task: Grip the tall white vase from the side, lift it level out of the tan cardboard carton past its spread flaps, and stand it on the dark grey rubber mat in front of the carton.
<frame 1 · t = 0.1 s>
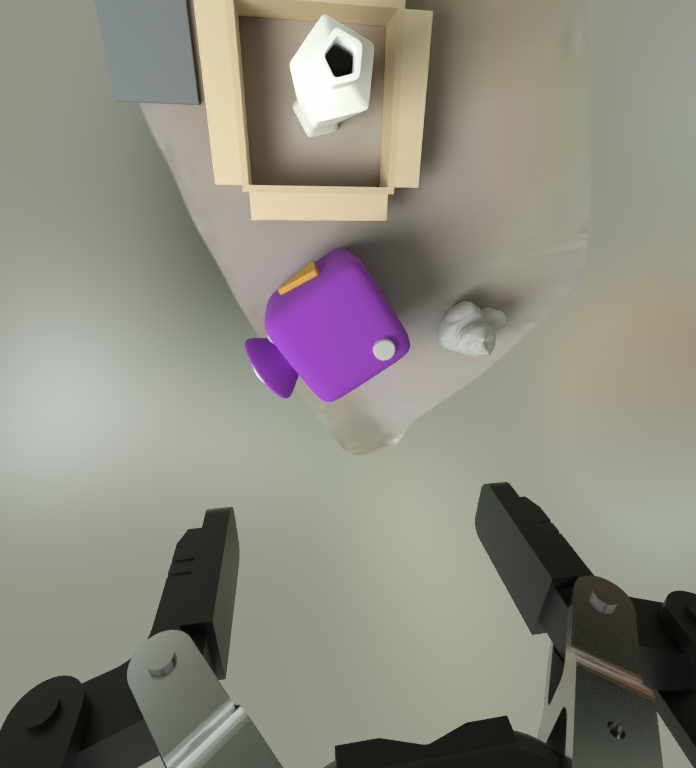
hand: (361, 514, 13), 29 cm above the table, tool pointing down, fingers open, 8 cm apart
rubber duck: (460, 320, 42), on the table
white vase: (315, 110, 32), resting in carton
mat: (147, 36, 29), on the table
carton: (315, 109, 32), on the table
toy camera: (317, 318, 40), on the table
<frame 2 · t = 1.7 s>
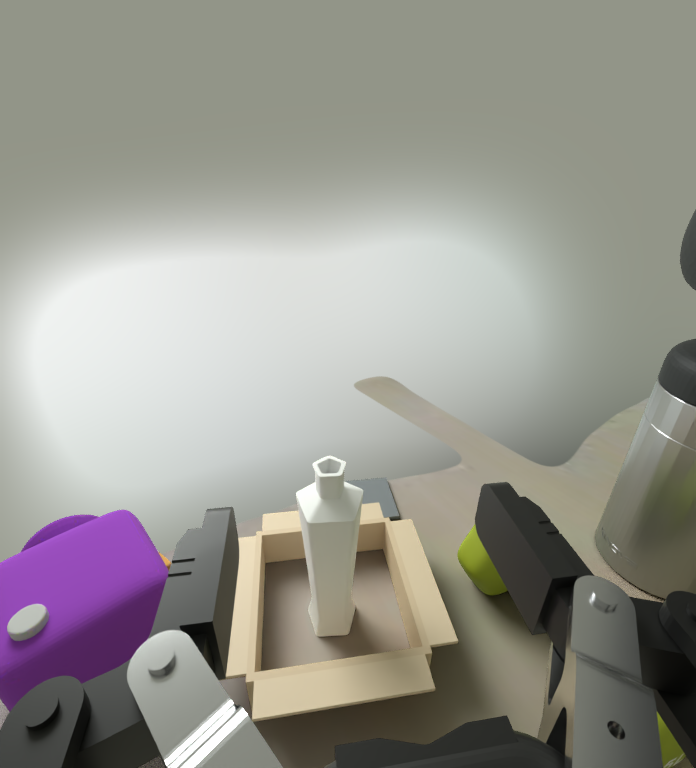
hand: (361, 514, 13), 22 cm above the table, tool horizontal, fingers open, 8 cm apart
dumbbell: (549, 649, 30), on the table
white vase: (332, 613, 32), resting in carton
mat: (356, 501, 43), on the table
carton: (332, 612, 32), on the table
toy camera: (104, 643, 30), on the table
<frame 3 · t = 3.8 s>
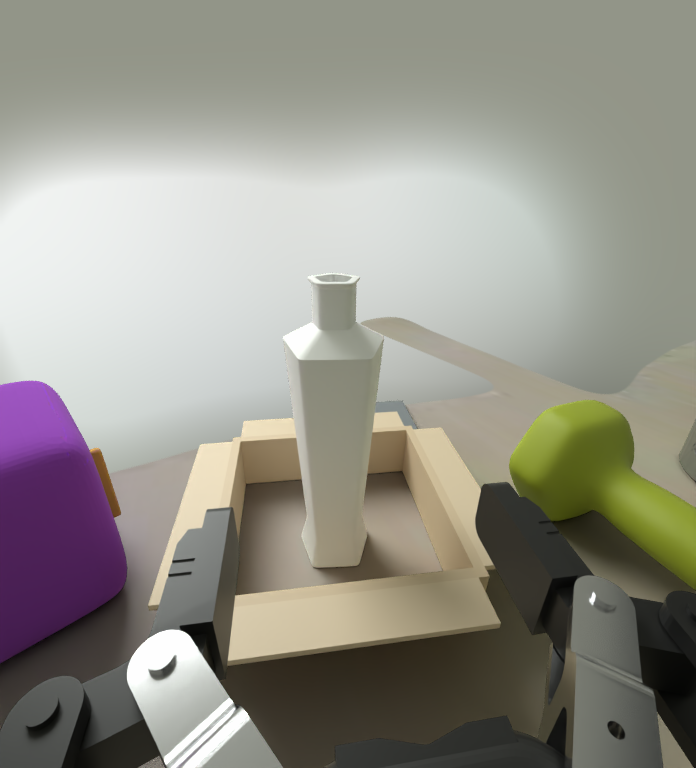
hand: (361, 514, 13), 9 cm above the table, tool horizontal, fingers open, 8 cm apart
dumbbell: (649, 587, 21), on the table
white vase: (334, 541, 23), resting in carton
mat: (365, 424, 34), on the table
carton: (334, 538, 23), on the table
toy camera: (8, 574, 21), on the table
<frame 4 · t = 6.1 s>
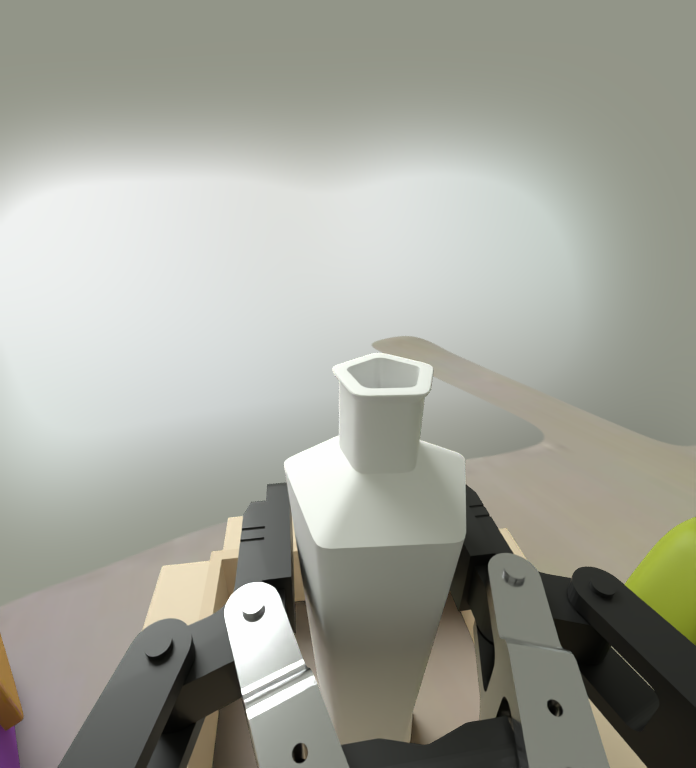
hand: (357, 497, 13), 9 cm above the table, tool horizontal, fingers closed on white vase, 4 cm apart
white vase: (363, 730, 15), resting in carton, touching gripper
carton: (363, 727, 15), on the table
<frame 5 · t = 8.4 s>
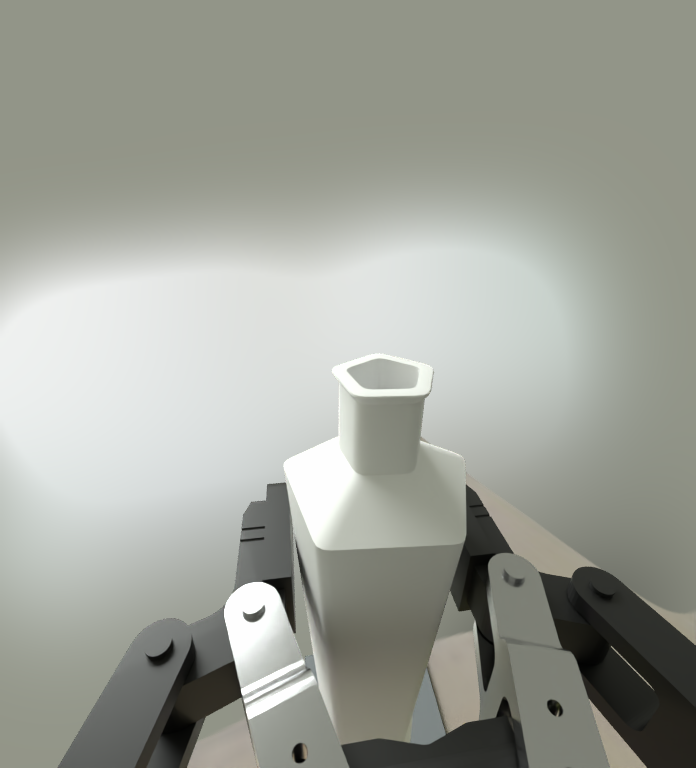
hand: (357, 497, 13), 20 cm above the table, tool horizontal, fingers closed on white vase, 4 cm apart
white vase: (363, 731, 15), point 11 cm above the table, touching gripper
mat: (370, 701, 25), on the table
when the fingers open (11 cm above the table, at t = 11.0 s): white vase drops 1 cm, resting on mat.
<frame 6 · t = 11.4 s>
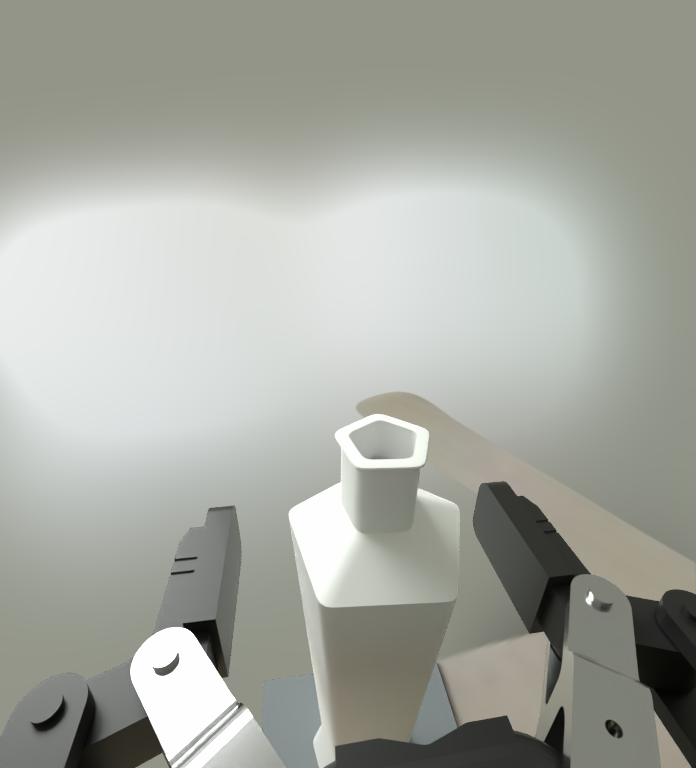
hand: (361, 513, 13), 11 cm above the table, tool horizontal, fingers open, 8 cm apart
white vase: (362, 752, 16), resting on mat
mat: (362, 753, 16), on the table
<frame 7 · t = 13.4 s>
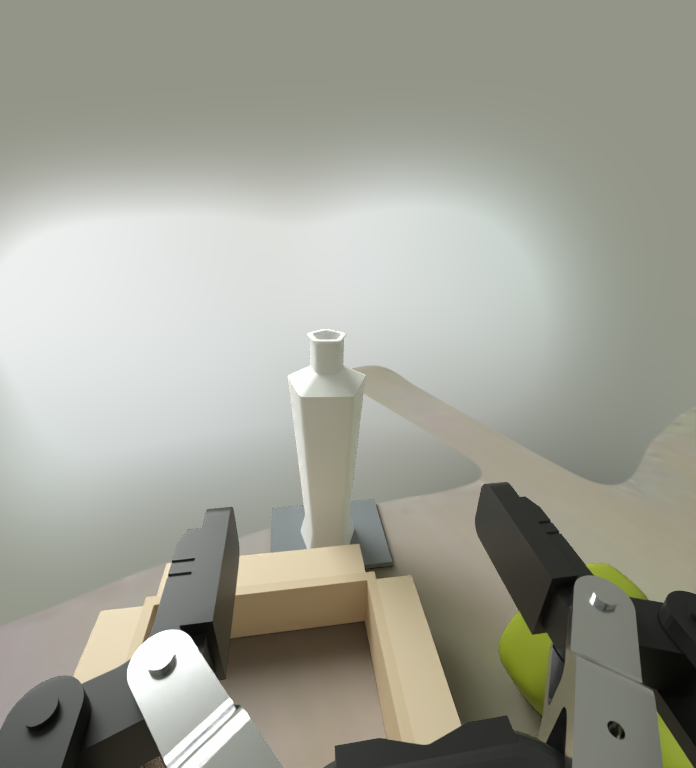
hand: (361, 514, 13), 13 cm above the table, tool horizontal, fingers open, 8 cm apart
white vase: (327, 535, 29), resting on mat
mat: (327, 536, 29), on the table
carton: (265, 756, 18), on the table
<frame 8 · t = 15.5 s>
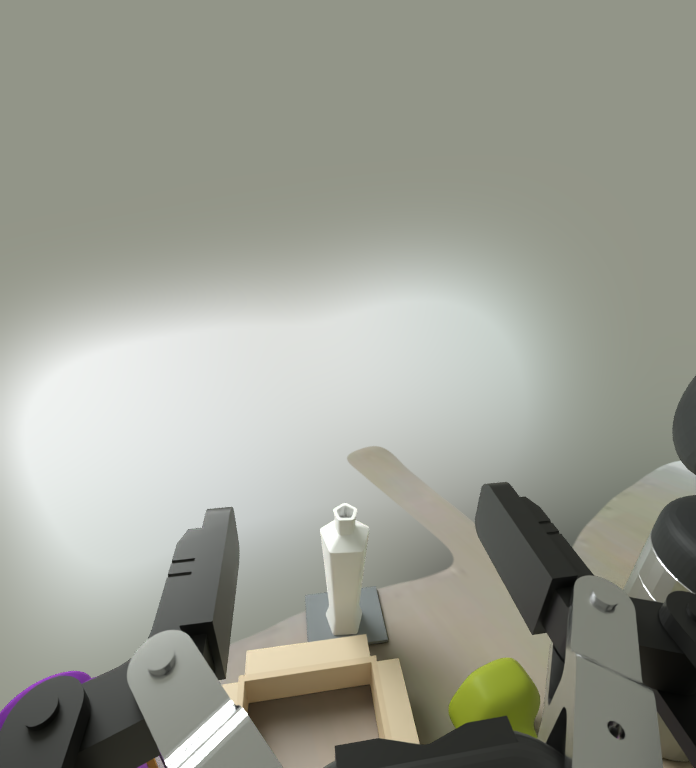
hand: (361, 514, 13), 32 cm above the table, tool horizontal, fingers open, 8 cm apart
white vase: (344, 617, 42), resting on mat
mat: (344, 618, 43), on the table
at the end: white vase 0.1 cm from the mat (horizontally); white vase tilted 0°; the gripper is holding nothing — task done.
